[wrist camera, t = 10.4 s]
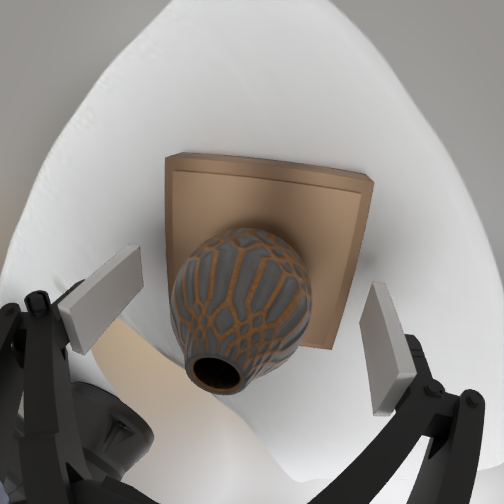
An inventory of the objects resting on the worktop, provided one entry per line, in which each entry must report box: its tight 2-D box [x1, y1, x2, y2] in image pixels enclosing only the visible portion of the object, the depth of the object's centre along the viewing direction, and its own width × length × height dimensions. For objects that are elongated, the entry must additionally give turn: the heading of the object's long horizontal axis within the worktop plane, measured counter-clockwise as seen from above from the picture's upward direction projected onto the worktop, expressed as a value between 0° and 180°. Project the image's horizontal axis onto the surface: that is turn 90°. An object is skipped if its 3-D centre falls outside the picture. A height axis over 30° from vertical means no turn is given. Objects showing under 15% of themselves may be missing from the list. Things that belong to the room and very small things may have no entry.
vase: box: [170, 228, 313, 395], centre depth 14 cm, size 7×7×9 cm
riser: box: [165, 153, 374, 350], centre depth 20 cm, size 12×12×3 cm
